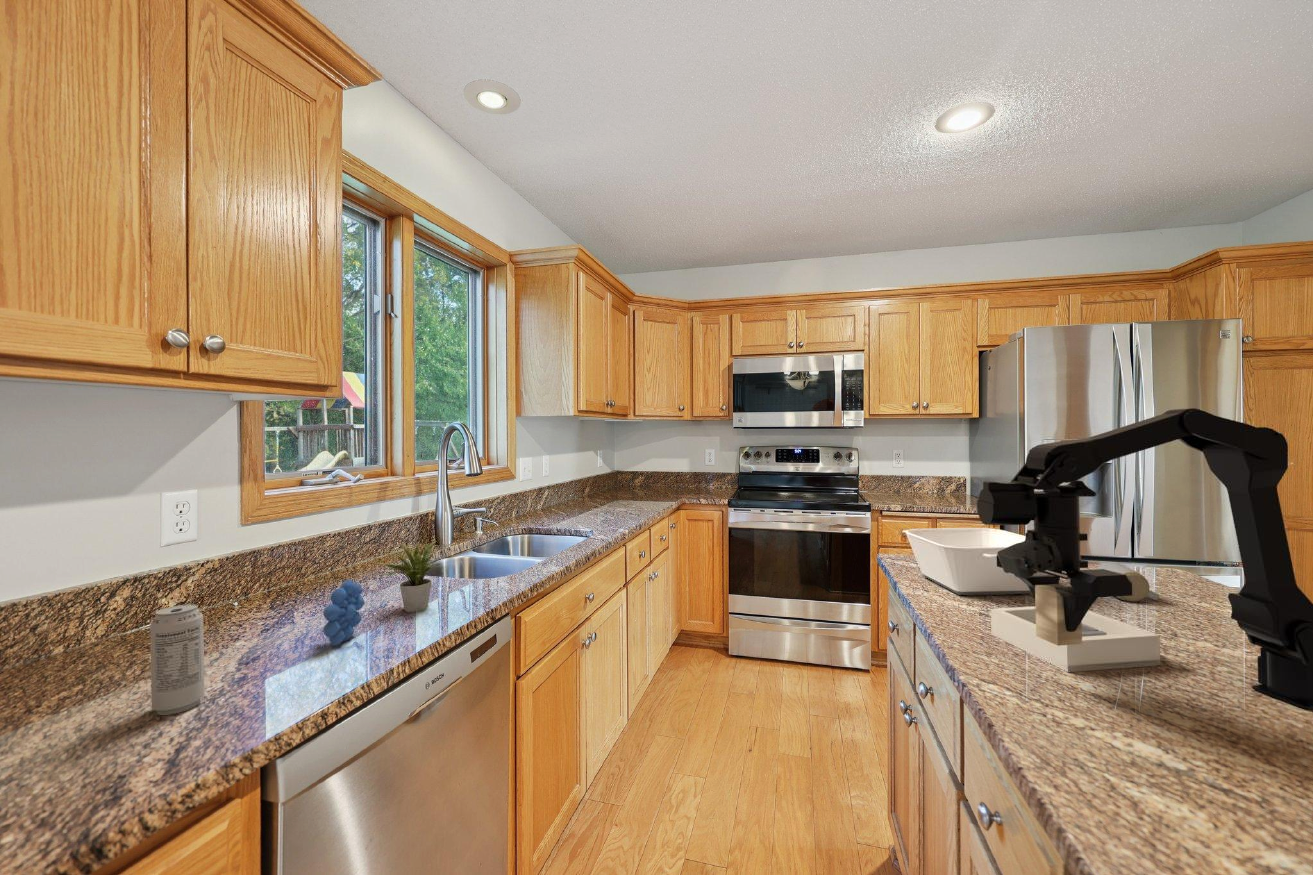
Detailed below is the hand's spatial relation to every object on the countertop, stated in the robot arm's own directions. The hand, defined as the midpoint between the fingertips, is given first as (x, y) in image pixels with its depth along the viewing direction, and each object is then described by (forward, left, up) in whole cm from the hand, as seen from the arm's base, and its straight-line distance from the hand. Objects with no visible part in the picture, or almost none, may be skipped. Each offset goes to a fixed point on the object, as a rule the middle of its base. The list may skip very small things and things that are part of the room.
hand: (1058, 626), depth 82 cm
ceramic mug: (+38, -53, -10) cm, 66 cm away
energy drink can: (+14, +135, -10) cm, 136 cm away
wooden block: (0, 0, -2) cm, 2 cm away
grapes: (+39, +123, -10) cm, 129 cm away
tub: (+53, -26, -10) cm, 60 cm away
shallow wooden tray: (+13, -14, -9) cm, 21 cm away
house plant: (+60, +115, -10) cm, 130 cm away
